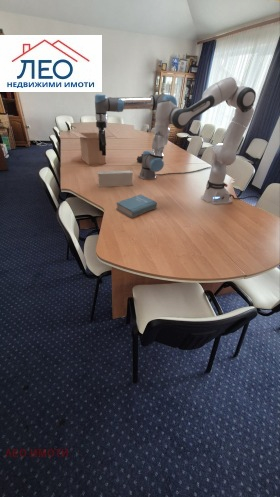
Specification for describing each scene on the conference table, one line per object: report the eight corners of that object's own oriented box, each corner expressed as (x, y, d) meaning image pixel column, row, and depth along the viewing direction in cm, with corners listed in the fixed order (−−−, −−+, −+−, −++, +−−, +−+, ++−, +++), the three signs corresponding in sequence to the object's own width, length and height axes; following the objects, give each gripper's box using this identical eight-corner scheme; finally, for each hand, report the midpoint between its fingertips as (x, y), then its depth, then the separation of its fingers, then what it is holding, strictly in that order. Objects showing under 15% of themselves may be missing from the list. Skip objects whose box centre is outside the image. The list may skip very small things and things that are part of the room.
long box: (99, 187, 180) (98, 173, 173) (98, 184, 184) (97, 171, 178) (132, 185, 187) (132, 172, 181) (130, 182, 192) (130, 170, 186)
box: (116, 165, 229) (116, 136, 213) (83, 168, 214) (80, 137, 198) (102, 154, 259) (101, 128, 243) (71, 156, 244) (68, 129, 228)
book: (140, 200, 162) (140, 194, 160) (156, 208, 154) (157, 202, 151) (116, 209, 149) (116, 202, 146) (132, 218, 140) (132, 211, 137)
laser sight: (156, 165, 238) (157, 155, 232) (135, 163, 241) (136, 153, 235) (157, 163, 245) (158, 153, 240) (137, 160, 248) (138, 151, 242)
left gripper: (109, 123, 147) (110, 157, 160) (103, 118, 166) (104, 149, 178) (98, 123, 145) (100, 157, 158) (93, 118, 164) (95, 149, 176)
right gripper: (160, 133, 129) (157, 158, 138) (171, 129, 145) (168, 152, 153) (150, 132, 131) (148, 156, 139) (161, 128, 146) (159, 150, 155)
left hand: (102, 153), depth 168 cm, fingers open, 13 cm apart
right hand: (158, 154), depth 146 cm, fingers open, 8 cm apart
